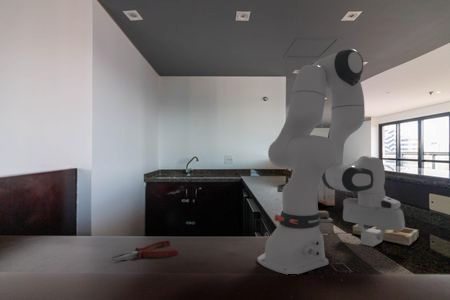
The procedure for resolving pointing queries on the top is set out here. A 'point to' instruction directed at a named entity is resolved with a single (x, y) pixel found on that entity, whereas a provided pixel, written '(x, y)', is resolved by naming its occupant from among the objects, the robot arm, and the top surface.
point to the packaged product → (324, 216)
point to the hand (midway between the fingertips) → (371, 237)
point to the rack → (393, 234)
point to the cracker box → (326, 195)
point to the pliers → (149, 252)
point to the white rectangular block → (370, 237)
